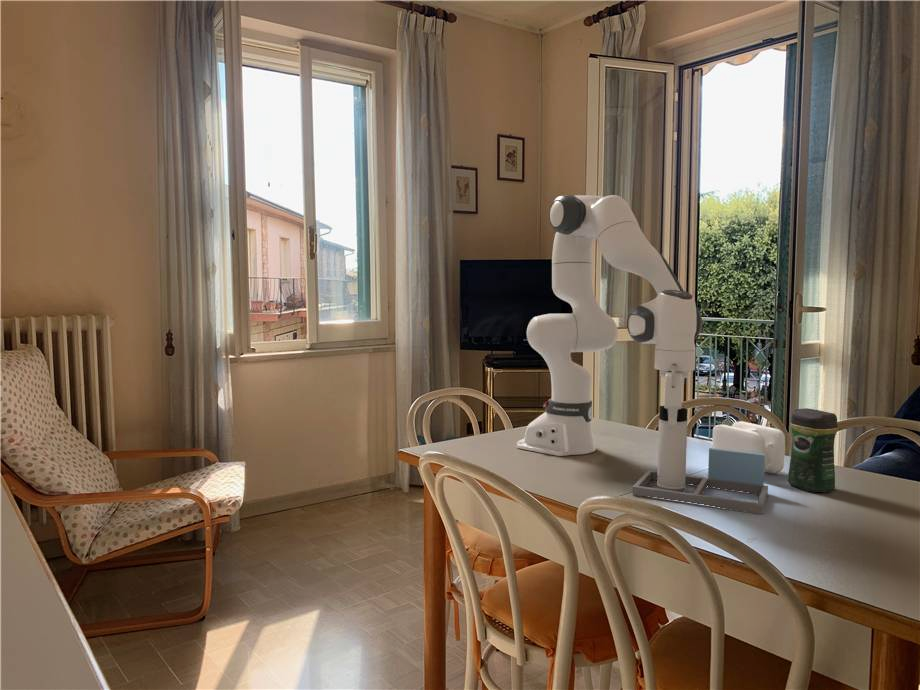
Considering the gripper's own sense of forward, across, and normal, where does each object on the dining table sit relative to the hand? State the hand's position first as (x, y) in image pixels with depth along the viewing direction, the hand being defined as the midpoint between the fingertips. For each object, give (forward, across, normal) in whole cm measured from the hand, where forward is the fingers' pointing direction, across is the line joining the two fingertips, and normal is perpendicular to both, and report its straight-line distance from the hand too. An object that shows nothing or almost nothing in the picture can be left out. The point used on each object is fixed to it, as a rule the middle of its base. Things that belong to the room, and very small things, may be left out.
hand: (672, 421), depth 158 cm
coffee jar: (+16, +12, -31) cm, 38 cm away
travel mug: (+16, 0, 0) cm, 16 cm away
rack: (+16, -1, -6) cm, 18 cm away
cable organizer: (+17, +23, -18) cm, 34 cm away
